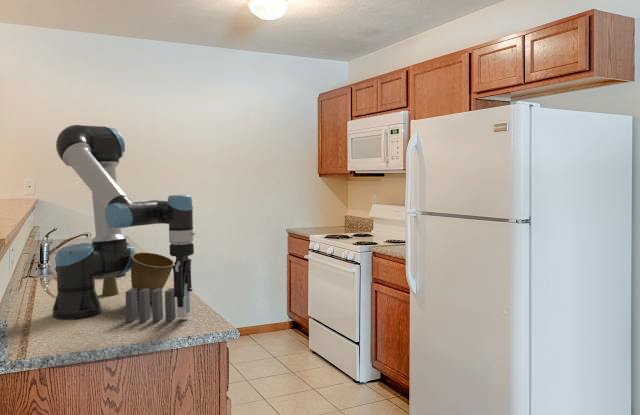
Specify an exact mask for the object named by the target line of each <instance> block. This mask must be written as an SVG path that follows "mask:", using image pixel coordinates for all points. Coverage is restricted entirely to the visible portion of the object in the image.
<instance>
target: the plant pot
mask: <svg viewBox="0 0 640 415" xmlns="http://www.w3.org/2000/svg"><path fill="white" fill-rule="evenodd" d="M173 265H175V261H173V260H172V259H171V258H170V257H167V256H166V255H162V254H159V253H155V252H138V253H135V254H133V255H132V261H131V269H130V272H131V273H130V274H131V276H130V277H131V280H130V281H131V289H137V303H139V291H141V290H142V289H144V288H149V294H150V305H152V291H154V290H155V289H156V288H162V290H163V289H164V287H165V285H166V283H167V281H168V279H169V277H170V275H171V272H172V271H173Z"/></svg>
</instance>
